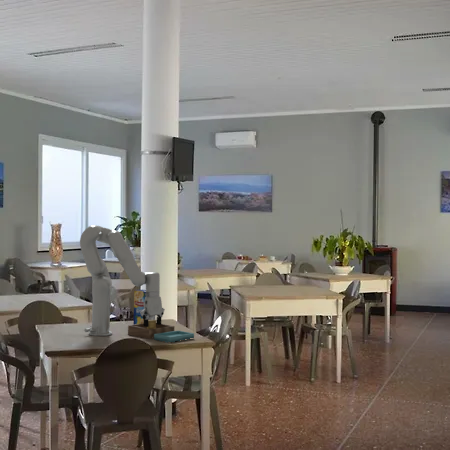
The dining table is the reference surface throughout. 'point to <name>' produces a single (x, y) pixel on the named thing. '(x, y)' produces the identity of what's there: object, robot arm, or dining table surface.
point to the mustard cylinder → (151, 324)
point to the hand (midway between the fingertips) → (152, 325)
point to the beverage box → (139, 306)
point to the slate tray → (173, 336)
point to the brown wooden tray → (148, 330)
